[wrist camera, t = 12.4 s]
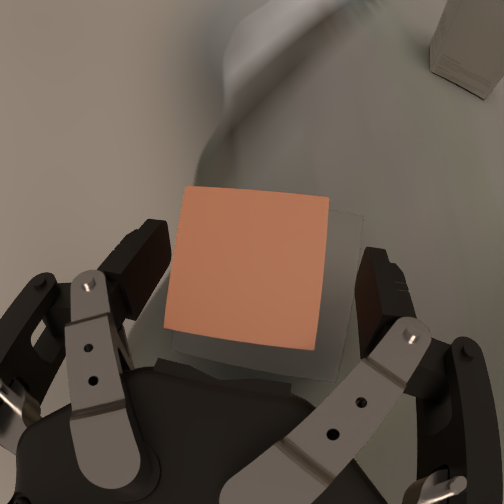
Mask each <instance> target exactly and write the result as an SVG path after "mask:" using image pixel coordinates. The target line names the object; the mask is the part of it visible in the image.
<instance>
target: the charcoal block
mask: <svg viewBox="0 0 504 504" xmlns="http://www.w3.org/2000/svg"><path fill="white" fill-rule="evenodd" d="M362 225H363V216H359V215H354V214H349V213H344V212H338V211H333V210H328V225H327V239H326V252H325V263H324V273H323V283H322V293H321V302H320V310H319V318H318V326H317V333H316V341H315V348H314V350H305V349H295V348H286V347H278V346H269V345H262V344H254V343H247V342H240V341H234V340H227V339H221V338H215V337H209V336H203V335H198V334H192V333H187V332H182V331H176V330H174V333H173V339H172V345H171V350H173V351H177V352H180V353H184V354H188V355H192V356H195V357H199V358H203V359H207V360H212V361H216V362H220V363H224V364H229V365H233V366H238V367H243V368H247V369H252V370H258V371H263V372H268V373H274V374H279V375H285V376H291V377H298V378H304V379H311V380H318V381H326V382H334V383H336V381H337V377H338V373H339V368H340V364H341V359H342V355H343V350H344V345H345V340H346V335H347V330H348V325H349V319H350V314H351V308H352V302H353V296H354V289H355V281H356V276H357V269H358V261H359V253H360V244H361V235H362Z"/></svg>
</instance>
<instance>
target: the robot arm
mask: <svg viewBox="0 0 504 504" xmlns="http://www.w3.org/2000/svg"><path fill="white" fill-rule="evenodd" d="M170 261H171V246H170V239H169V232H168V225H167V222H166V221H164V220H155V219H147V220H146V221H145V222H144V224H143V225H142V226H141V227H140V228H139V229H136V230H134V231H133V232H131V233H129V234H127V235H126V236H125V237H124V238H123V240H122V241H121V242H120V244H118V245H117V246H116V248H115V250H113V251H112V252H111V253H110V254H109V256H108V257H107V258H106V259H105V260H104V262H103V263H102V264H101V265H100V266H99V268H98V269H97V270H88V271H85V272H82V273H81V274H79V275H78V276H77V277H75V278H74V280H73V281H72V283H57V281H56V279H55V277H54V275H53V274H52V273H48V272H47V273H41V274H39V275H36V276H35V277H33V278H32V279H31V280H30V281H29V282H28V284H27V285H26V286H25V287H24V289H23V290H22V292H21V293H20V294H19V295H18V296H17V298H16V299H15V300H14V302H13V303H12V304H11V305H10V307H9V308H8V309H7V311H6V312H5V314H4V315H3V316H2V318H1V319H0V445H1V446H2V447H4V448H5V449H7V450H9V451H10V452H11V453H13V454H14V455H16V467H17V472H16V474H17V475H16V487H15V492H14V495H13V497H12V498H11V500H10V501H9V503H8V504H388V503H387V502H386V500H385V499H384V498H383V497H382V495H381V494H380V493H379V491H378V490H377V489H376V487H375V486H374V485H373V483H372V482H371V481H370V479H369V478H368V477H367V475H366V474H365V473H364V471H363V470H362V469H361V467H360V466H359V465H358V463H357V462H356V461H355V459H354V456H355V455H356V454H357V453H358V452H359V450H360V449H361V448H362V447H363V446H364V444H365V443H366V442H367V441H368V440H369V438H370V437H371V436H372V435H373V433H374V432H375V431H376V429H377V428H378V427H379V425H380V424H381V423H382V421H383V420H384V419H385V417H386V416H387V415H388V413H389V412H390V410H391V409H392V408H393V406H394V405H395V403H396V402H397V400H398V399H399V397H400V396H401V394H402V393H406V394H409V395H412V396H415V397H416V411H417V481H415V482H414V483H412V484H411V485H410V486H409V487H408V488H407V490H406V492H405V494H404V497H403V501H402V504H502V500H503V481H502V459H501V447H500V438H499V429H498V422H497V416H496V410H495V404H494V399H493V394H492V389H491V384H490V380H489V376H488V371H487V367H486V364H485V360H484V356H483V353H482V350H481V348H480V347H479V345H478V344H477V343H476V342H475V341H473V340H472V339H470V338H468V337H458V338H456V339H455V340H454V341H453V343H452V344H451V345H450V344H447V343H444V342H441V341H439V340H436V339H434V338H432V337H431V333H430V331H429V329H428V327H427V326H426V325H425V324H424V323H423V322H421V321H420V320H418V319H417V318H416V314H415V310H414V307H413V303H412V300H411V296H410V293H409V292H408V287H407V284H406V280H405V277H404V274H403V272H402V271H401V269H400V268H399V267H398V266H397V265H396V264H395V263H390V262H389V259H388V256H387V253H386V250H385V249H380V248H373V247H366V249H365V251H364V254H363V257H362V261H361V264H360V267H359V270H358V274H357V277H356V281H355V301H356V310H357V320H358V332H359V344H360V359H362V360H361V361H360V362H359V364H358V365H357V366H356V367H355V368H354V369H353V370H352V371H351V373H350V374H349V375H348V376H347V377H346V378H345V379H344V380H343V381H342V382H341V383H340V384H339V386H338V387H337V388H336V389H335V390H334V391H333V392H332V393H331V394H330V395H329V396H328V397H327V398H326V399H325V400H324V401H323V402H322V403H321V404H320V405H319V406H318V407H317V408H315V407H314V406H313V405H312V404H311V403H309V402H308V401H306V400H305V399H303V398H301V397H299V396H297V395H294V394H292V393H290V390H291V384H290V383H282V382H275V381H268V380H261V379H244V380H218V379H216V378H214V377H211V376H209V375H207V374H205V373H203V372H201V371H199V370H197V369H195V368H193V367H191V366H189V365H185V364H181V363H177V362H173V361H169V360H165V359H161V358H158V360H157V362H156V364H155V366H154V367H142V368H137V369H135V367H134V364H133V361H132V358H131V354H130V350H129V346H128V342H127V338H126V334H125V329H124V326H123V322H124V320H125V318H127V319H131V320H134V321H136V320H137V318H138V317H139V315H140V313H141V311H142V310H143V308H144V306H145V305H146V303H147V301H148V299H149V298H150V296H151V294H152V293H153V291H154V289H155V288H156V286H157V284H158V283H159V281H160V279H161V278H162V276H163V274H164V273H165V271H166V269H167V268H168V266H169V264H170ZM41 320H43V322H44V324H45V325H46V328H45V330H44V331H43V332H42V334H41V336H40V337H39V339H38V340H37V342H36V344H35V345H34V347H32V345H31V335H32V333H33V332H34V330H35V329H36V327H37V326H38V324H39V322H40V321H41ZM65 356H66V362H67V373H68V383H69V391H70V398H71V403H70V404H68V405H66V406H64V407H62V408H61V409H59V410H57V411H55V412H53V413H51V414H49V415H47V416H45V417H44V418H42V417H41V416H40V414H41V408H40V405H41V403H42V401H43V399H44V397H45V395H46V393H47V391H48V389H49V387H50V385H51V383H52V381H53V379H54V377H55V375H56V373H57V371H58V369H59V367H60V366H61V364H62V362H63V360H64V358H65Z"/></svg>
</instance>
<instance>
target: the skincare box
mask: <svg viewBox="0 0 504 504" xmlns="http://www.w3.org/2000/svg"><path fill="white" fill-rule="evenodd" d="M430 71H431V72H433V73H435V74H437V75H439V76H441V77H444V78H446V79H448V80H450V81H452V82H454V83H456V84H458V85H459V86H461V87H463V88H465V89H467V90H469V91H470V92H472V93H474V94H476V95H478V96H479V97H481V98H483V99H486V97H487V96H488V95H489V94H490V92H491V91H492V90H493V89H494V87H495V86H496V85H497V83H498V82H499V81H500V79H501V78H502V77H503V75H504V0H447V3H446V6H445V8H444V11H443V13H442V16H441V18H440V21H439V23H438V26H437V29H436V31H435V33H434V36H433V38H432V41H431V43H430Z"/></svg>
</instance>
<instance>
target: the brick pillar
mask: <svg viewBox="0 0 504 504" xmlns="http://www.w3.org/2000/svg"><path fill="white" fill-rule="evenodd" d="M328 210H329V197H321V196H312V195H302V194H292V193H282V192H270V191H258V190H245V189H231V188H215V187H196V186H186V188H185V193H184V198H183V203H182V208H181V213H180V219H179V224H178V230H177V236H176V241H175V247H174V254H173V260H172V267H171V273H170V280H169V287H168V295H167V302H166V311H165V319H164V328H166V329H171V330H176V331H182V332H187V333H192V334H198V335H203V336H209V337H215V338H221V339H227V340H234V341H240V342H247V343H254V344H262V345H269V346H278V347H286V348H295V349H305V350H314V348H315V341H316V333H317V326H318V318H319V310H320V302H321V293H322V283H323V273H324V263H325V252H326V239H327V225H328Z"/></svg>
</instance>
